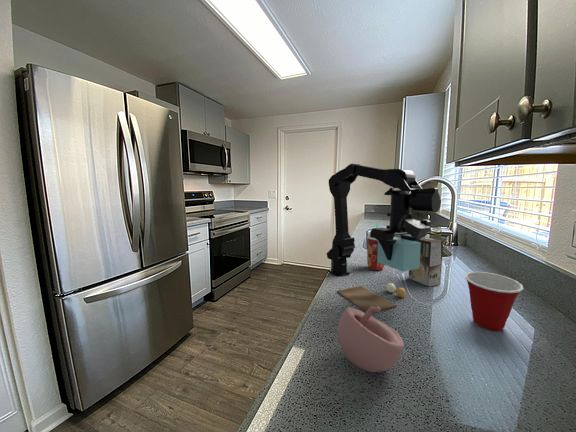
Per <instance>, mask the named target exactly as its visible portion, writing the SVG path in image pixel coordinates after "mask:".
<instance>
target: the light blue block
mask: <svg viewBox="0 0 576 432" xmlns="http://www.w3.org/2000/svg"><path fill="white" fill-rule="evenodd" d="M393 240H397V241H396V242H395V243H394V244H393V250H392V257H391V260H387V258H386V255H385V253H384V251H383V249H382V247H381V245H380V243H379V241H378V258H377V262H379V263H381V264H384V266H387V267H390V268H393V269H394V270H395V269H396V270H398V271H401V272H406V271H408V272H409V270H413V269H418V268H419V263H420V248H421V243H420V242H415V241H411V240H406V239H402V238H401V237H396V236H394V238H393Z"/></svg>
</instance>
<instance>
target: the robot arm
mask: <svg viewBox="0 0 576 432" xmlns="http://www.w3.org/2000/svg"><path fill="white" fill-rule="evenodd" d="M358 177H363V178H367V179H371V180H376V181H380V182H382V183H383V184H385V185H387V186H388V187H390V188H388V190H387V191H386V192H384V193H383V194H384V196H390V208H389V209H390V210H389V212H387V213H386V216H387V217H389V224H388V225H386V228H384V227H378V228H377V227H373V228H372V229H371V230H370V231H371V232H369V233H370V237H372V238H376V239H377V240H378V241H379V243H380V245H381V247H382V249H383V251H384V253H385V255H386V258H387V260H391V257H392V250H393V244H394V243H395V242H396V241H397V240H393V238H394V237H396V236H400V238H402V239H406V240H411V241H415V242H416V241H417V240H419V239H421V238H422V237H427V236H428V232H432V229H431V228H432V221H430V220H429V219H422V220H417V219H415V215H414V213H411V209H412V210H413V211H414V212H422V213H423V212H424V213H437V212H438V211H439V210H440V208H441V204H442V199H441V195H440V192H439V188H438V187H428V188H423V187H422V186H421V184H419V182H418V181H417V179H416V175H415V172H414V171H413V170H410V169H404V168H403V169H402V168H386V169H384V168H383V169H382V168H379V167H373V166H366V165H362V164H359V163H349V164H348V165H347V166H346V167H344V168H342V169H341V170H339V171H337V172H336V173H335V174H333V175H331V176H330V178H329V179H328V188H329V193H331V195H332V197H333V201H334V202H333V203H334V204H333V206H334V207H333V208H334V218H335V219H334V224H335V225H334V226H335V235H334V237H333V239H332V241H331V242H332V244H331V248H330V249H329V250H328V251H327V252H326V257H327V259H328V260H330V269H327V272H329V273H331V274H332V275H334V276H336V277H340V276H346V275H350V272H349V271H348V263H347V262H348V259H349V258H351V256H352V254H353V253H354V250H355V248H356V245H355V238H354V237H351V234H350V232H349V215H348V195H349V193H350V190H351V184H353V183H354V182H355V181H356V180H357V178H358ZM407 192H410V193H407ZM330 270H331V271H330Z"/></svg>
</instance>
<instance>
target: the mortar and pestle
mask: <svg viewBox="0 0 576 432" xmlns="http://www.w3.org/2000/svg"><path fill="white" fill-rule="evenodd" d="M380 310H381V308H380V307H373V306H371V307H370V308H369V309H368V310H367V312H366V311H362V310H360V309H357V308H354V307H349V306H348V307H346V308H345V309H344V311H343V313H342V314H341V316H340V318H339V319H338V324H337V339H338V343H339V346H340V348H341V350H342V352H343V354H344V355H345V357H346V358H347V359H348V360H349V361H350V362H351V364H353V365H354V366H356V367H358V368H359V369H361V370H364V371H367V372H370V373H381V372H386V371H387V370H391V369H392V368H393V367H394V366H395V365H396V364H398V362H399V360H400V359H401V357H402V355H403V353H404V350H405V349H404V348H405V343H404V340H403V338H402V336H400V334H399V333H398V332H397V331H396V330H395V329H394V328H393V327H391V326H389V325H388V324H386V323H384V322H383V321H380V320H379V319H378V318H375V317H374V316H373V315H374V314H375V313H380V312H381V311H380Z"/></svg>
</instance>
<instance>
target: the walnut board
mask: <svg viewBox="0 0 576 432" xmlns="http://www.w3.org/2000/svg"><path fill="white" fill-rule="evenodd" d="M336 293H338V294H339V295H340V296H342V297H344V298H345V299H346V300H348V301H349V302H350V303H352V304H354V305H355V306H357V307H358V308H360V309H362V310H363V312H365V313H366V312H367V310H368V309H369V308H370V307H371V306H373V307H380V308H381V310H380V312H383V311H386V310H391V309H393V308H397V304H396V303H393V302H391V301H390V300H388V299H386V298H385V297H383V296H380V295H379V294H377V293H375V292H373V291H372V290H369V289H367V288H365V287H363V286H362V285H358V286H353V287H350V288H344V289H343V288H342V289H340V290H339V289H338V290H336Z"/></svg>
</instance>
